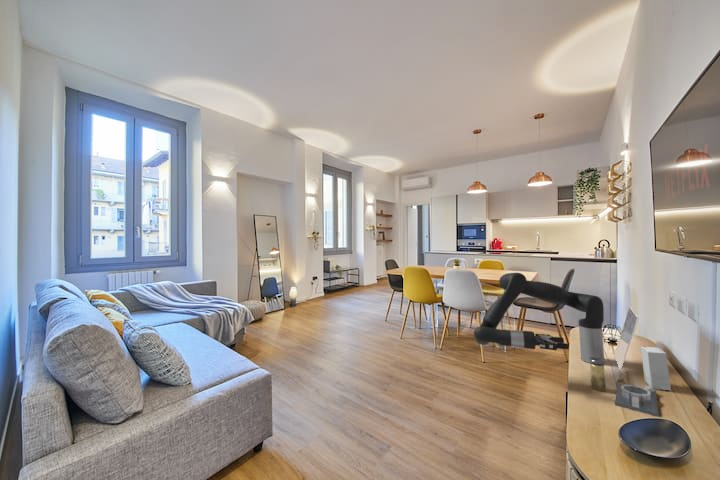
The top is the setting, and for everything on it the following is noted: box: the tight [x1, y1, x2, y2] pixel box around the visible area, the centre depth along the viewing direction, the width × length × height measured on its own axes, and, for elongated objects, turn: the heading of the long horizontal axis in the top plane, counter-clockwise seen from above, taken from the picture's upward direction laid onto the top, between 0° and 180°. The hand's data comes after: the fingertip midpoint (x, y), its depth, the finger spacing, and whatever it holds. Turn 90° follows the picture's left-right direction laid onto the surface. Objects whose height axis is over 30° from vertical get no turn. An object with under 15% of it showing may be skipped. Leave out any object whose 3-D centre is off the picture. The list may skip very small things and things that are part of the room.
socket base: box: [614, 382, 659, 417], centre depth 108 cm, size 20×11×4 cm, turn 136°
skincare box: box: [640, 346, 672, 392], centre depth 118 cm, size 8×6×15 cm
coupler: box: [589, 357, 607, 393], centre depth 117 cm, size 5×5×12 cm
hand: (565, 343), depth 121 cm, fingers open, 8 cm apart
